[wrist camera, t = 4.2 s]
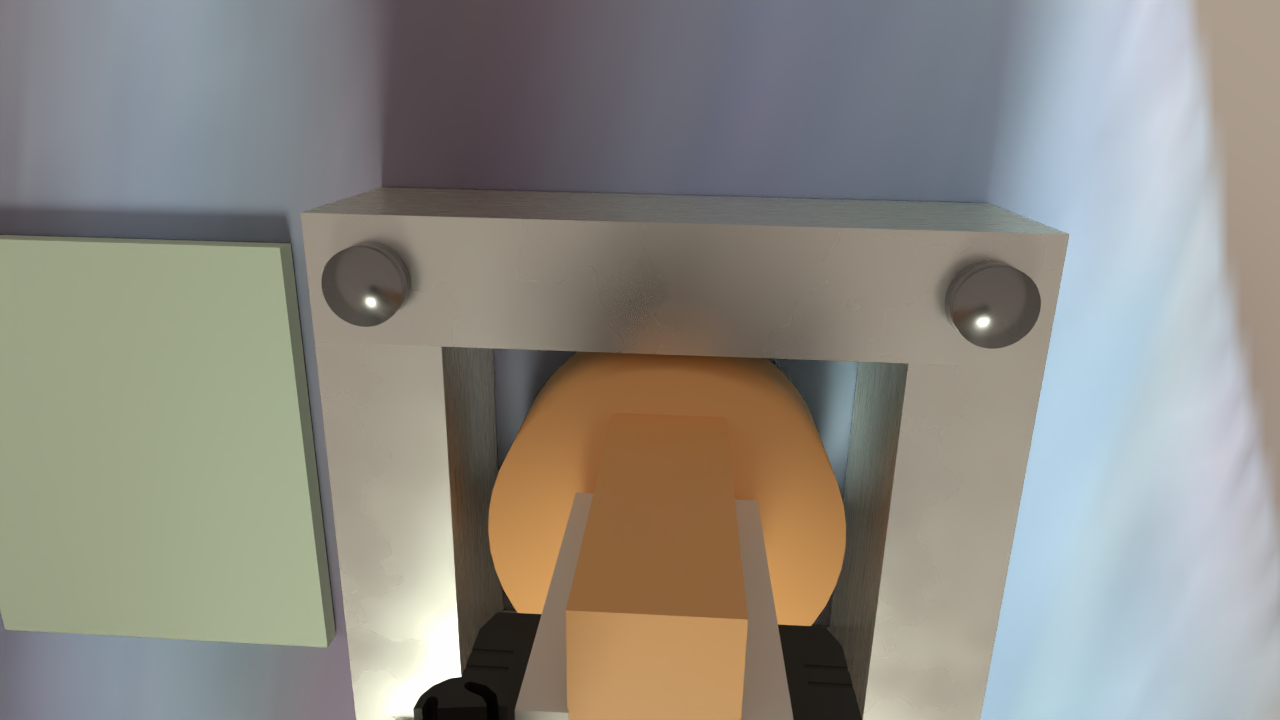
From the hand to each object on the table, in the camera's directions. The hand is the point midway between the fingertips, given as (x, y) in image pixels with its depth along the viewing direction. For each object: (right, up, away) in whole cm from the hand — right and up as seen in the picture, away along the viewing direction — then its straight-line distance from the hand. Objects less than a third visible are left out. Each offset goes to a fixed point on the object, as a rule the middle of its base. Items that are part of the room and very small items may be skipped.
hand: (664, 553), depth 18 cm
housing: (0, +1, +5) cm, 5 cm away
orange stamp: (0, +1, +4) cm, 4 cm away
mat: (-15, +2, +6) cm, 16 cm away
